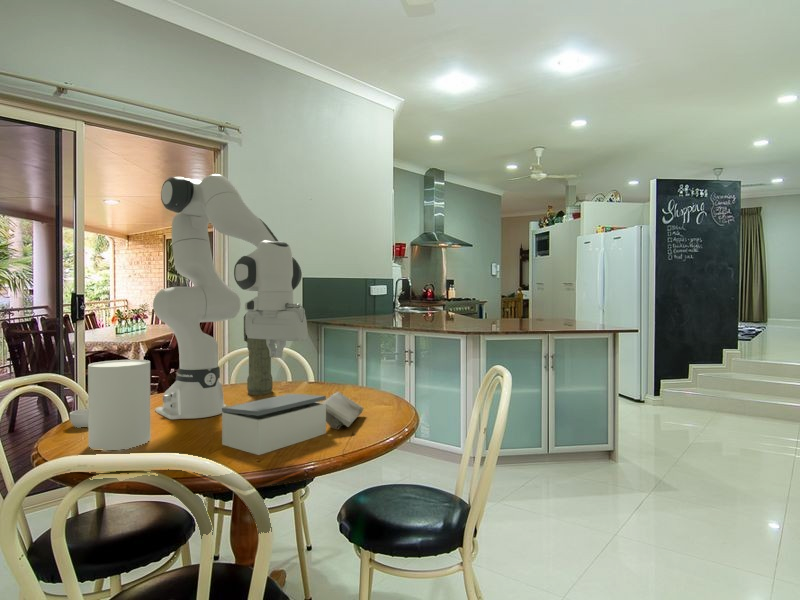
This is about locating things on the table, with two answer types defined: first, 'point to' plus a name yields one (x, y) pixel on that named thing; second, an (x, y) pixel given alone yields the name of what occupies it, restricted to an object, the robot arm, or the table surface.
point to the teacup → (79, 418)
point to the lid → (273, 404)
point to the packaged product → (341, 410)
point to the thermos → (258, 366)
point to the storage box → (273, 428)
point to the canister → (118, 404)
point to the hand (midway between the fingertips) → (276, 357)
